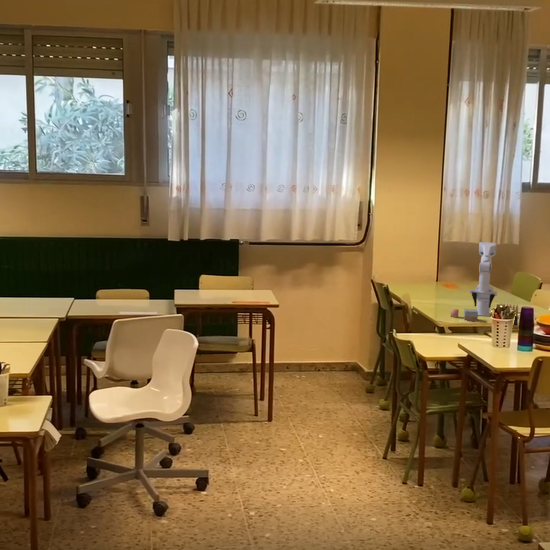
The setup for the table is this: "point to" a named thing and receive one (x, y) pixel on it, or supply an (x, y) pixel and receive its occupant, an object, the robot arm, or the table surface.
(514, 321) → the ammunition clip
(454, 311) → the pink cylinder
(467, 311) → the tower top
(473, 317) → the tower base
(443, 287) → the table surface
